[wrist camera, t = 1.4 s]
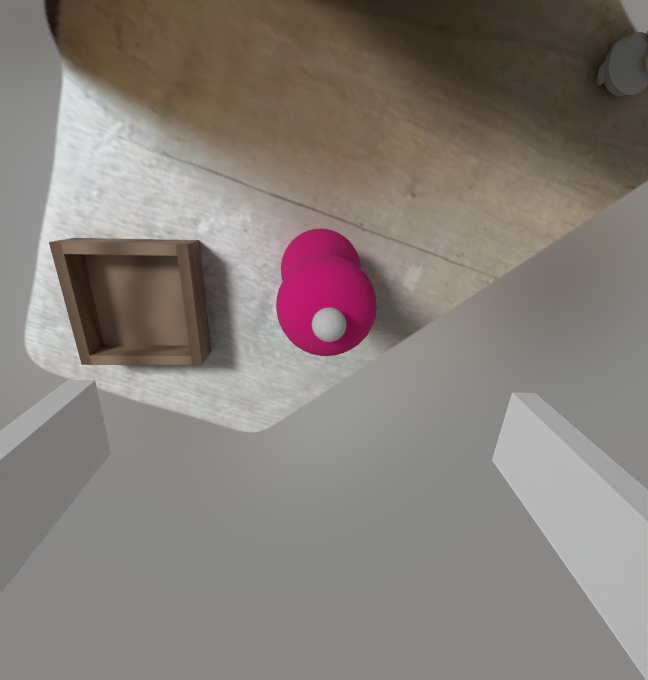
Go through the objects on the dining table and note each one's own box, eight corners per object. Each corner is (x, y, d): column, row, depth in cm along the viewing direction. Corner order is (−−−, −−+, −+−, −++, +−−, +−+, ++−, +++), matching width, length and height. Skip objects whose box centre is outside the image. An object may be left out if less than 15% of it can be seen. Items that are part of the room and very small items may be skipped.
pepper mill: (365, 279, 36) (422, 361, 18) (303, 307, 37) (296, 413, 19) (337, 212, 34) (370, 228, 15) (271, 245, 35) (228, 296, 16)
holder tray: (198, 240, 34) (187, 244, 31) (211, 351, 39) (201, 364, 36) (74, 238, 34) (48, 242, 31) (101, 350, 38) (81, 364, 35)
